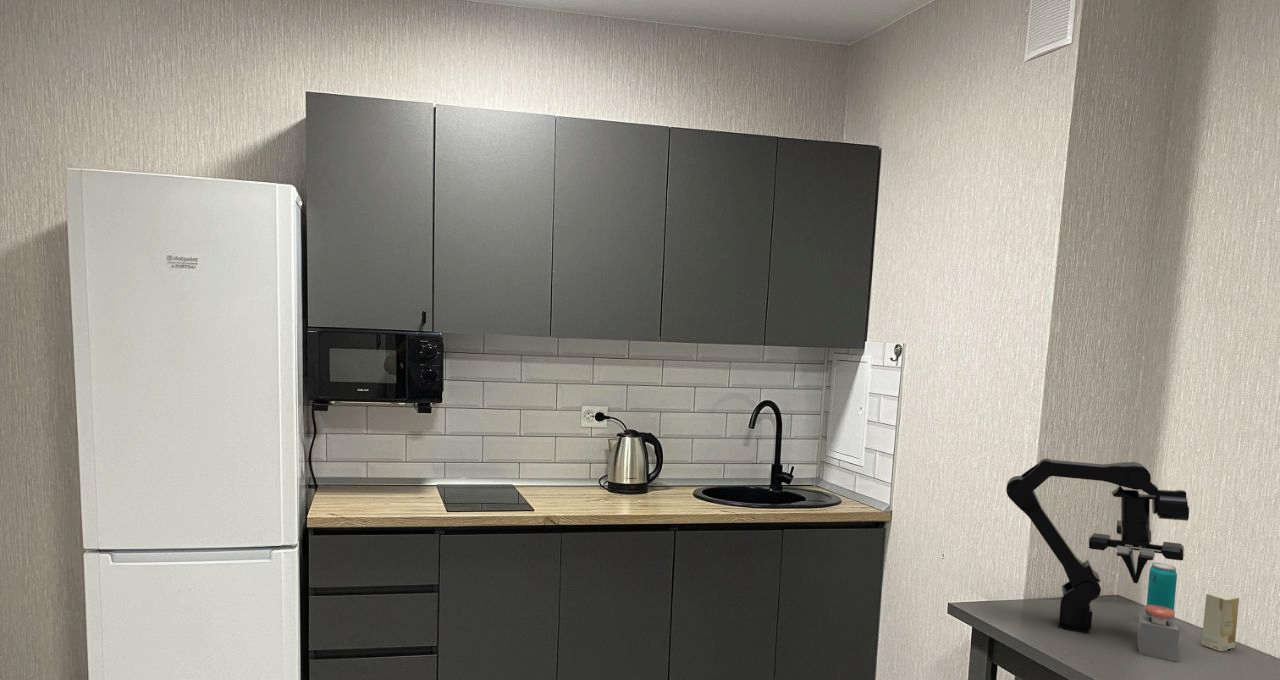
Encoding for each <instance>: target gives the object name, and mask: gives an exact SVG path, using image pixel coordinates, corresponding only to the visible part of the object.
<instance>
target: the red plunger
mask: <svg viewBox="0 0 1280 680" xmlns="http://www.w3.org/2000/svg"><path fill="white" fill-rule="evenodd" d="M1144 612H1145V614H1146V613H1147V614H1150V615H1152V621H1151V622H1152V623H1157V624H1162V625H1166V621H1167V619H1173V620H1174V619H1175V614H1176V611H1175V610H1174V611H1173V610H1172V609H1169V608H1167V607H1163V606H1159V605H1151V604H1149V605H1147V604H1145V606H1144Z"/></svg>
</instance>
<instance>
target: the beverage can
mask: <svg viewBox="0 0 1280 680" xmlns="http://www.w3.org/2000/svg"><path fill="white" fill-rule="evenodd" d="M1177 579H1178V573H1177V567H1176V566H1174V565H1173V564H1172V565H1171V564H1168V563H1162V562H1151V566H1150V568H1149V572H1148V583H1147V585H1148V586H1147V594H1146V596H1147V597H1146V605H1149V604H1151V605H1159V606H1163V607H1167V608H1169V609H1172V610H1173V611H1175V604H1176V603H1175V602H1176V593H1177V592H1176V589H1177V583H1178V582H1177V581H1178V580H1177ZM1145 615H1149V616H1152V615H1150V614H1147V613H1146V612H1145ZM1169 620H1174V618H1173V619H1169Z"/></svg>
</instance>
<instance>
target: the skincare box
mask: <svg viewBox="0 0 1280 680" xmlns="http://www.w3.org/2000/svg"><path fill="white" fill-rule="evenodd" d="M1204 603H1205V606H1204V613H1203V614H1204V615H1203V624H1202V632H1201V633H1202V635H1201V641H1200V642H1201V645H1202V646H1205V647H1207V648H1210V649H1212V650H1215V651H1218V652H1226V651H1229V650H1228V649H1231V648H1233V647H1234V648H1235V645H1236V635H1237V634H1236V633H1237V626H1238V613H1239V604H1240V597H1238V596H1234V595H1232V594H1229V593H1225V592H1222V591H1218V592H1210V593H1206V594H1205V602H1204ZM1231 650H1232V649H1231Z"/></svg>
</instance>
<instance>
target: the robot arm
mask: <svg viewBox="0 0 1280 680" xmlns="http://www.w3.org/2000/svg"><path fill="white" fill-rule="evenodd" d="M1051 477H1057V478H1068V479H1077V480H1078V479H1079V480H1087V481H1088V480H1089V481H1099V482H1106V483H1110V484H1113V485H1116V486H1117V488H1116V489H1114V490H1112V491H1111V495H1112V496H1113V497H1115V498H1121V499H1120V514H1121V515H1120V518H1121V520H1116V521H1117V522H1116V533H1117V535H1120V536H1121V537H1120V538H1121V539H1115V538H1114V539H1113V538H1111V535H1110V534H1104V533H1093V534H1091V535H1090V537H1089V539H1088V549H1091V550H1097V551H1105V550H1106V549H1107V548H1115V549H1116V551H1117V552H1116V556H1117V557H1121V559H1122V561H1123V563H1125V566H1126V568H1127V570H1128V572H1129V575H1130V577H1131V581H1132V583H1133V584H1138V583H1139V581H1140V578H1141V576H1142V572H1143V569H1145V566H1146V565H1147V563H1148V561H1154V558H1155V555H1156V554H1160V555H1162V556H1163V557H1164V558H1165V559H1166V560H1174V561H1184V557H1185V548H1184V545H1183V544H1182V543H1180V542H1179V543H1178V542H1170V541H1169V542H1168V541H1162V542H1163V543H1162V545H1161V544H1153V543H1152V531H1151V527H1150V526H1151V523H1150V520H1151V519H1150V518H1151V517H1150V516H1151V515H1150V511H1151V510H1152V514H1153V515H1156V516H1157V517H1158V519H1160V520H1174V521H1189V518H1190V506H1189V505H1188V503H1189V502H1188V498H1187V492H1186V491H1185V490H1183V489H1179V490H1178V489H1175V490H1171V489H1170V490H1168V489H1159V488H1158V486H1157V485H1156V484H1154V483H1153V482H1152V481H1151V480H1152V478H1151V473H1150V471H1149V470H1148V469H1147V468H1146V467H1145V466H1144V465H1143V464H1141V463H1140V462H1138V461H1137V462H1136V461H1128V462H1127V461H1126V462H1115V463H1105V464H1102V463H1091V462H1081V461H1069V460H1059V459H1051V458H1042V459H1040V460H1039V461H1038V463H1036V464H1035V465H1033V466H1031V468H1030V469H1028V470H1027V471H1025V472H1024V473H1023V474H1021V475H1016V476H1012V477H1011V478H1010V479H1009V480H1008V481H1007V484H1006V490H1005V492H1006V495H1007V497H1008V498H1009V499H1010V500H1011V502H1013V503H1014V504H1015V505H1016V506H1017V507H1018V509H1020V510H1021V511H1022V512H1023V513H1025V515H1026V516H1028V518H1029V519H1030V521H1031V523H1032V524H1033V525H1034V527H1035V529H1036V530H1037V532H1039V534H1040V535H1041V537H1042V538H1043V540H1044V541H1045V542H1046V544H1047V545H1048V547H1049V549H1051V551H1052V553H1053V554H1054V555H1055V557H1056V559H1058V561H1059V563H1060V564H1061V566H1062V567H1063V570H1064V572H1065V574H1066V577H1067V579H1068V581H1067V582H1066V583H1064V584H1062V585H1061V591H1062V596H1060V601H1059V612H1058V613H1059V614H1058V618H1057V619H1058V620H1057V627H1059V628H1062V629H1063V628H1064V629H1067V630H1072V631H1077V632H1082V633H1085V634H1086V633H1087V634H1089V633H1090V629H1092V624H1093V623H1092V622H1093V609H1092V608H1091V602H1092V601H1094V600H1097V599H1098V598H1099V597H1100V595H1101V591H1102V589H1101V585H1100V582H1101V578H1100V576H1099V573H1098V572H1097V571H1095V570H1094V568H1093V567H1092V565H1091V563H1090V561H1089V559H1087V560H1086V561H1082V560H1080V558H1078V557H1077V556H1076V555H1075V553H1074V551H1073V550H1072V548H1071V547H1070V546H1069V544H1068V543H1067V542H1066V539H1065V538H1064V537H1063V536H1062V534H1061V533H1060V531H1059V530H1058V528H1057V527H1056V526H1055V524H1054V523H1053V521H1052V520H1051V518H1050V517H1049V516H1048V514H1047V513H1046V511H1045V510H1044V508H1043V507H1042V505H1041V503H1040V501H1039V498H1038V495H1037V494H1036V491H1035V490H1036V489H1037V488H1038V487H1040V486H1041V485H1042V484H1043V483H1044V482H1045V481H1047V480H1048V479H1049V478H1051ZM1123 487H1124V488H1128V489H1124V488H1123ZM1139 490H1141V491H1142V492H1144V493H1145V494H1141V493H1139ZM1150 500H1151V501H1150ZM1150 502H1151V510H1150ZM1134 551H1138V552H1139V554H1138V556H1137V563H1136V567H1135V558H1134Z"/></svg>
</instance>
